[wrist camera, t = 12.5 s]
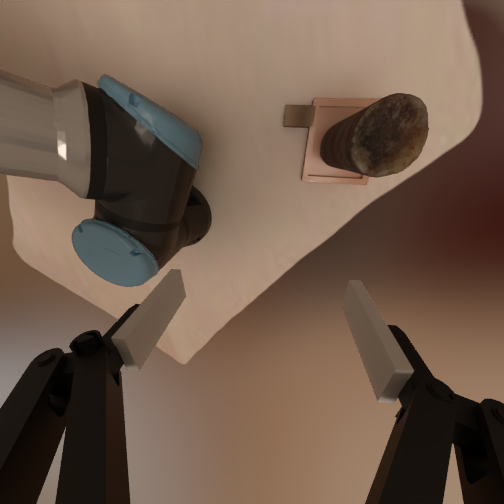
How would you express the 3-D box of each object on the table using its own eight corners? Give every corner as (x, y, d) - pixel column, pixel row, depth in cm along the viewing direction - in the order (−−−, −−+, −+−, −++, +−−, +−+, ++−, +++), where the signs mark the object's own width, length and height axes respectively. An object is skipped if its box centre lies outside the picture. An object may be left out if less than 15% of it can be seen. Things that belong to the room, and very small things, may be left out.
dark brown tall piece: (325, 117, 35) (367, 86, 17) (368, 122, 34) (457, 95, 17) (314, 164, 38) (339, 179, 21) (353, 169, 38) (412, 188, 20)
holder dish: (301, 179, 41) (301, 181, 39) (312, 100, 34) (314, 98, 33) (362, 183, 39) (366, 185, 38) (386, 102, 33) (392, 99, 31)
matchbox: (284, 126, 37) (284, 125, 35) (286, 107, 35) (286, 104, 34) (311, 127, 36) (313, 126, 35) (314, 107, 35) (316, 105, 33)
